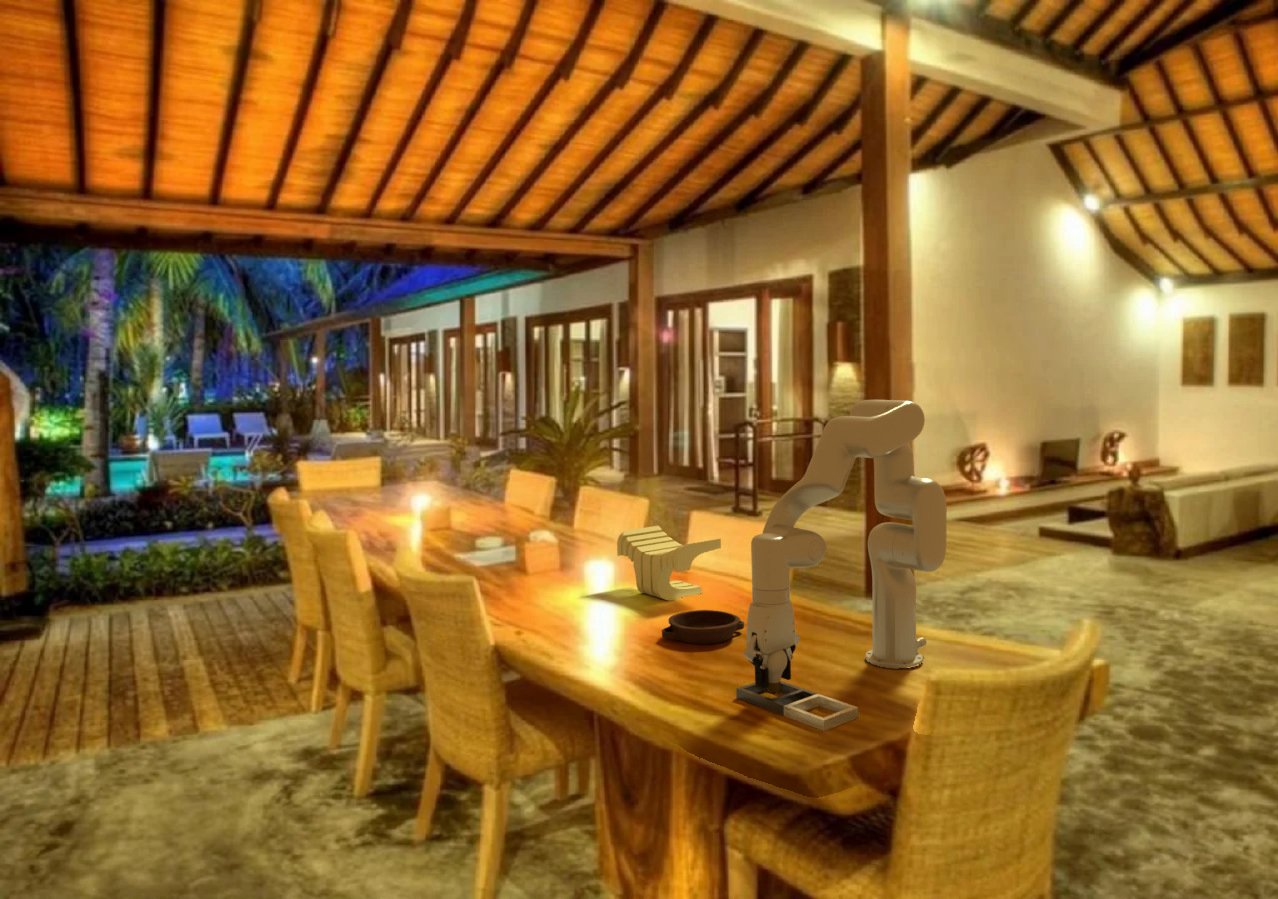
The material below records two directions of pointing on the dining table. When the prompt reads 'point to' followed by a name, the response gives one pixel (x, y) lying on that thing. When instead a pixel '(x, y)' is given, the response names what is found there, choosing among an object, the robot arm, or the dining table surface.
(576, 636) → the dining table surface
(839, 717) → the rail
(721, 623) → the dish
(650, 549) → the slatted curved stool
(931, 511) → the robot arm
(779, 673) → the light bulb
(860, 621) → the dining table surface
